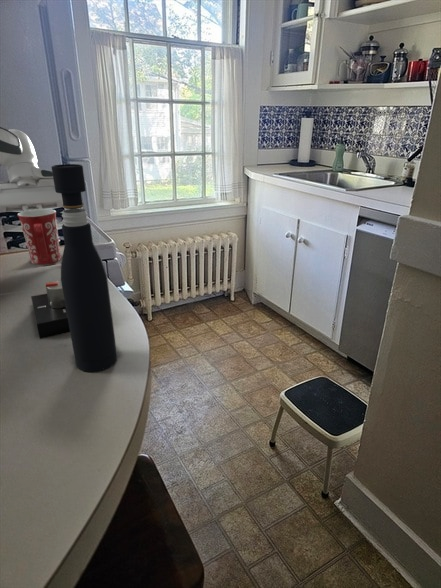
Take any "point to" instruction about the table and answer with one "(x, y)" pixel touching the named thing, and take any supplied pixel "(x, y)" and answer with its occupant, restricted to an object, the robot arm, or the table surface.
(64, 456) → the table surface
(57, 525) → the table surface
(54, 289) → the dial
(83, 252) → the black bottle
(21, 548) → the table surface
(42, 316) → the panel
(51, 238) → the mug
